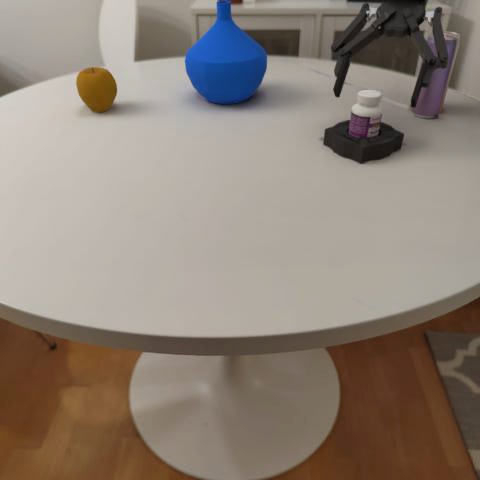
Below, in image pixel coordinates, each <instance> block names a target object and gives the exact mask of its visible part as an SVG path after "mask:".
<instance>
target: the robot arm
mask: <svg viewBox="0 0 480 480" xmlns="http://www.w3.org/2000/svg"><path fill="white" fill-rule="evenodd" d="M428 2H429V0H382V1H381V3H380V5H379V6H378V7H373V6H370V4H369V2H363V4H362V5H361V8H360V10H359V12H358V14H357V15H356V16H355V17H354V18H353V20H352V21H351V22H350V23H349V25H348V26H347V27H346V28H345V29H344V30H343V31H342V33H340V35H338V37H337V39H335V41H334V42H333V43H332V44H331V45H330V51H331V54H332V58H334V59H336V63H335V66H334V68H333V72H334V73H333V74H334V76H335V78H336V79H335V81H334V85H333V88H332V90H333V95H334V97H335V98H340V96H341V94H342V91H343V88H344V85H345V81H346V78H347V76H348V72H349V69H350V65H351V60H350V59H351V58H353V57H354V56H355V55H357V54H358V53H359V52H361V51H362V50H363V49H365V48H366V47H367V46H369V44H371V43H372V42H373V41H375V40H378V39H380V38H381V37H383V36H384V35H385V37H387V38H393V37H395V38H399V39H400V38H401V39H404V38H405V37H408V38H409V40H410V41H411V43H413V45H414V47H415V49H416V51H417V52H418V54H419V56H420V58H421V61H422V60H423V61H424V63H422V62H421V63H422V66H421V65H420V68H421V70H420V69H419V72H420V73H419V72H418V76H417V79H416V81H415V86H414V89H413V92H412V95H411V98H410V107H411V108H412V107H414V108H415V107H416V104H417V101H418V98H419V95H420V92H421V89H422V87H424V88H428V86H429V85H430V82H431V79H432V76H433V72H434V71H435V70H436V69H438V68H441V69H445V68H446V67H447V65H448V52H447V47H446V43H445V38H444V33H443V31H444V29H443V25H442V19H443V8H442V6H438V7H436V8H435V9H434V10H426V8H427V5H428ZM373 18H376V19H374V20H373ZM371 20H373V21H372V22H371ZM425 21H426V22H427V24H428V26H429V27H430V28H432V31H431V32H433V37H434V42H435V46H436V51H437V56H438V57H436V56H434V54H433V52H432V51H431V49H430V47H429V45H428V43H427V42H426V41H427V39H426V38H425V36H424V34H423V33H422V31H421V28H420V25H422V24H423V23H424V22H425ZM370 22H371V24H370V25H369V26H368V27H367V28H366V29H365V30H363V29H364V28H365V26H366V25H367V23H370ZM362 30H363V31H362ZM361 31H362V32H361ZM360 32H361V33H360Z"/></svg>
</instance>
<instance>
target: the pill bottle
mask: <svg viewBox="0 0 480 480" xmlns="http://www.w3.org/2000/svg"><path fill="white" fill-rule="evenodd" d="M381 100H382V93H381V92H380V91H379V90H375V89H363V90H359V91H358V92H357V95H356V103H355V104H354V105H353V106H352V107H351V109H350V118H349V120H350V125H349V134H350V135H352V136H355V137H359V138H374V137H377V136H378V134H379V129H380V123H381V122H382V117H383V106H382V105H381V104H380V103H381Z"/></svg>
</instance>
